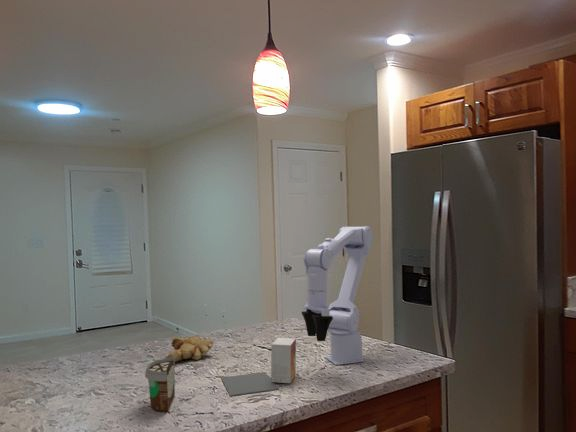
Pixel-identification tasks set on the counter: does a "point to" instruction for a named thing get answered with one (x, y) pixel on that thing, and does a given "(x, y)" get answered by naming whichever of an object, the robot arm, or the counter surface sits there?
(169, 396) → the food container
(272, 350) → the small box
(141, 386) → the counter surface
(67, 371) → the counter surface
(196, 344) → the ginger root
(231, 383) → the mat
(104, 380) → the counter surface
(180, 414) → the counter surface
